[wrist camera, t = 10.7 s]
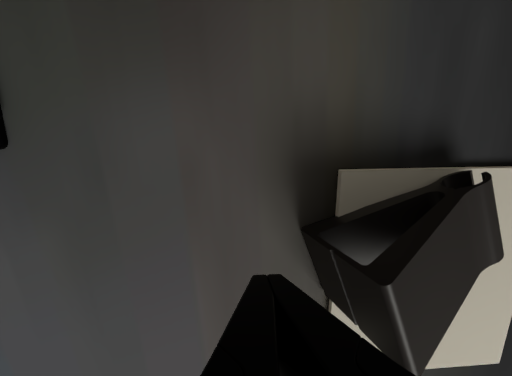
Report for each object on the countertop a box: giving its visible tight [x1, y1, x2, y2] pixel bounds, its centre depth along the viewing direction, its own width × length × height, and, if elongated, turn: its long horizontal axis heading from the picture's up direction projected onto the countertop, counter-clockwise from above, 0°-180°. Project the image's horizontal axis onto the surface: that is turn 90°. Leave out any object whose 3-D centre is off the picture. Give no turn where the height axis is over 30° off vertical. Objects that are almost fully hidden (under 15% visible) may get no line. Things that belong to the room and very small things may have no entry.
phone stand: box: [301, 170, 504, 376], centre depth 19 cm, size 9×6×12 cm
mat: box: [329, 166, 512, 369], centre depth 23 cm, size 16×18×1 cm
